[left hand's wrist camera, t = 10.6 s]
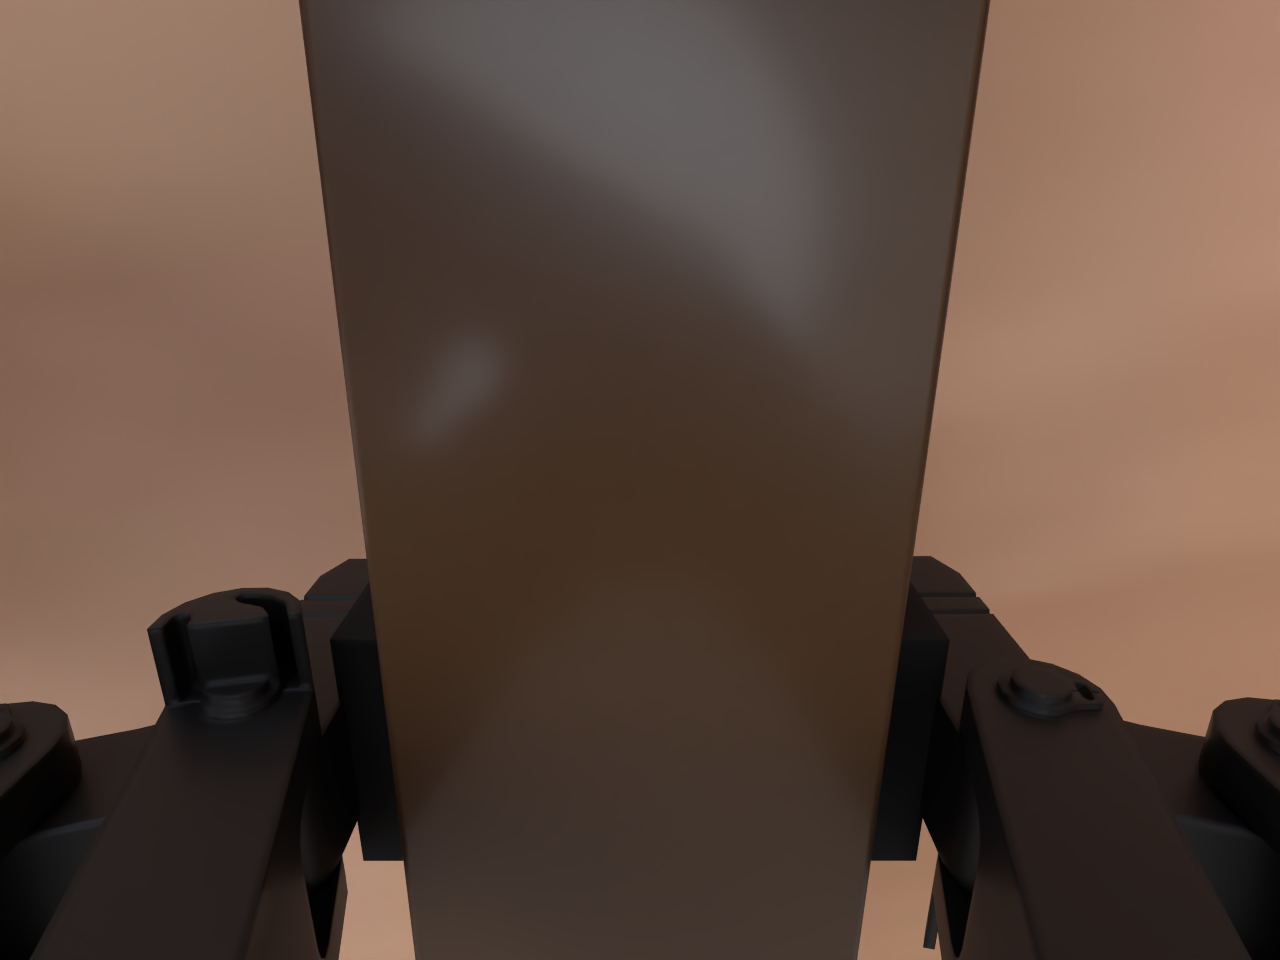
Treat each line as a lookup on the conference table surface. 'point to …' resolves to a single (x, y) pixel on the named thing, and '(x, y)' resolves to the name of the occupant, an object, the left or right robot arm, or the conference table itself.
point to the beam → (640, 444)
